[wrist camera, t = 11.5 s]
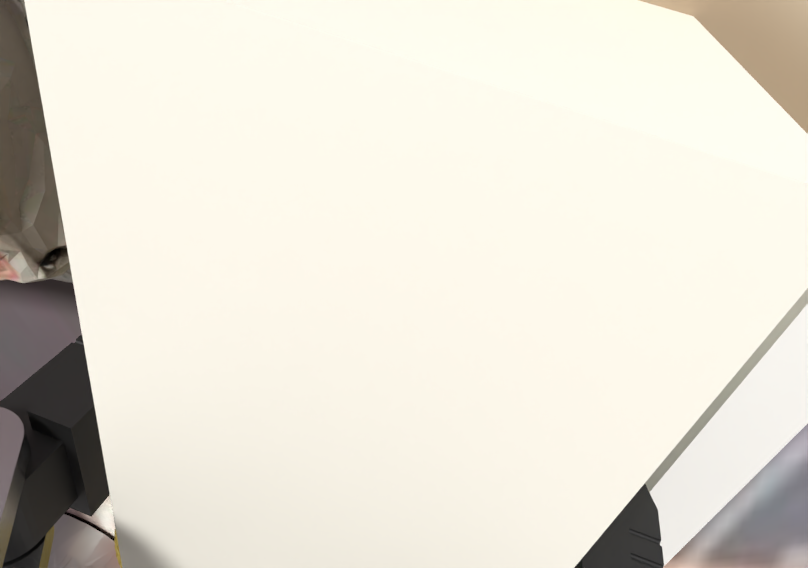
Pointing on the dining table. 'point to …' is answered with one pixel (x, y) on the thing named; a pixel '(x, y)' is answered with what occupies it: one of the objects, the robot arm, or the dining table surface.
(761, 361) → the rail
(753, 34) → the shelf board
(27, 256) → the packaged product
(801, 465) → the dining table surface
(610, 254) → the carton
